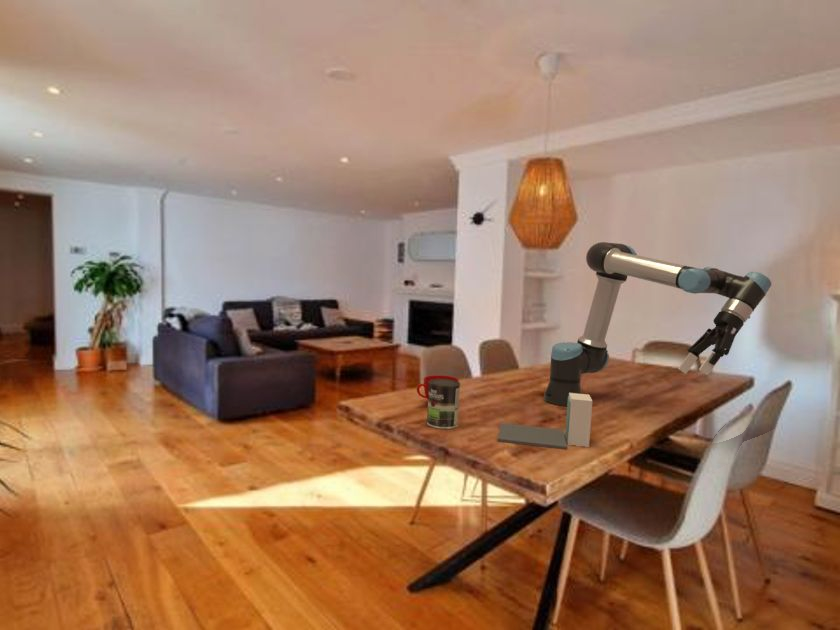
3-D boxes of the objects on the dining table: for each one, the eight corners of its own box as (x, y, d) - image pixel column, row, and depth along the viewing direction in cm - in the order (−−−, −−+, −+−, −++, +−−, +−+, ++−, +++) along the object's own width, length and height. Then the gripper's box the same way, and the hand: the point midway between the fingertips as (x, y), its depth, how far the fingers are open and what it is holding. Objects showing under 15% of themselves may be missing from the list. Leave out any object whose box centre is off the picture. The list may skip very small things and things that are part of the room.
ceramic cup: (407, 403, 182) (408, 377, 181) (444, 399, 191) (445, 374, 190) (425, 413, 171) (427, 385, 170) (464, 407, 180) (465, 381, 179)
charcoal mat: (497, 441, 145) (497, 438, 145) (500, 425, 161) (500, 422, 161) (567, 449, 141) (567, 446, 141) (563, 432, 157) (563, 429, 156)
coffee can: (443, 431, 152) (445, 387, 151) (420, 423, 159) (422, 381, 158) (464, 425, 159) (466, 383, 158) (441, 417, 167) (443, 377, 165)
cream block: (585, 438, 151) (589, 394, 150) (588, 447, 144) (592, 401, 142) (564, 436, 153) (568, 392, 151) (566, 444, 145) (570, 398, 144)
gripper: (768, 321, 138) (724, 381, 138) (721, 326, 163) (683, 377, 162) (745, 305, 139) (701, 365, 138) (701, 313, 164) (664, 364, 163)
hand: (691, 371), depth 150 cm, fingers open, 13 cm apart
